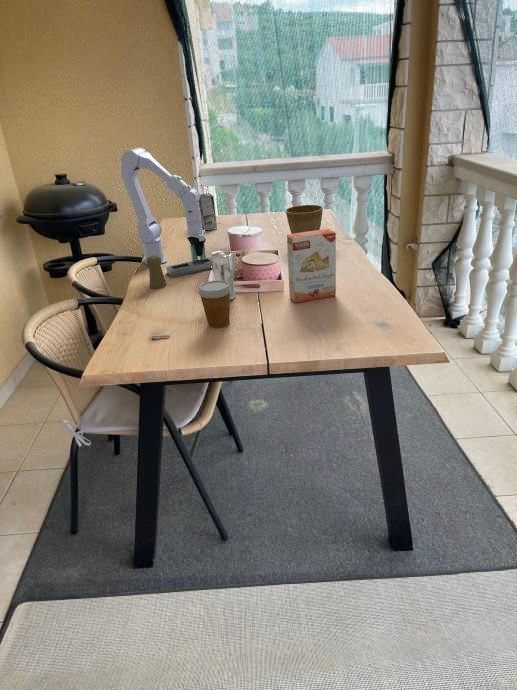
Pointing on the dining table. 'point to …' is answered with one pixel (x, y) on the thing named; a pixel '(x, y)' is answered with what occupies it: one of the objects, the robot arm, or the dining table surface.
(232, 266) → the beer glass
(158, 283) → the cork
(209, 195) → the coffee box
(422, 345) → the dining table surface
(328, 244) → the cracker box
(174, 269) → the grey compartment tray
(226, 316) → the disposable coffee cup
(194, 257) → the clip
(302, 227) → the plant pot
